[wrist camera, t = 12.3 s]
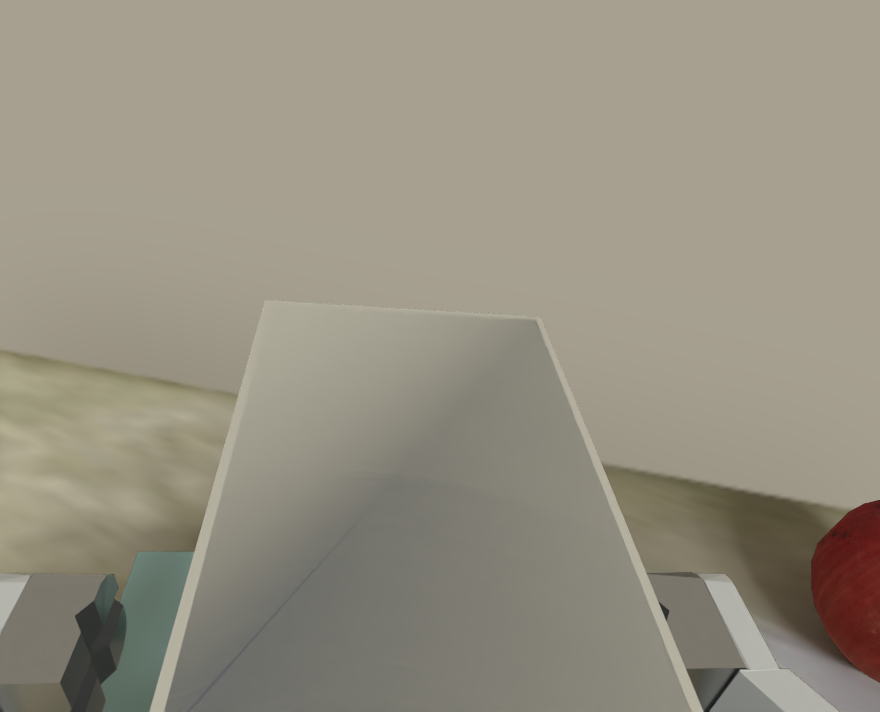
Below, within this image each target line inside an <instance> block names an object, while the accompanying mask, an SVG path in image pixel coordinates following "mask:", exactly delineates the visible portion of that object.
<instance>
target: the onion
mask: <svg viewBox="0 0 880 712" xmlns="http://www.w3.org/2000/svg"><path fill="white" fill-rule="evenodd" d="M811 588H812V593H813V598H814V604H815V607H816V609H817V612H818V614H819V616H820V619H821V621H822V623H823V626H824V628H825V630H826V632H827V633H828V635H829V636H830V638H831V639H832V640H833V642H834V643H835V644H836V646H837V647H838V648H839V649H840V651H841V652H842V653H843V654H844V656H845V657H846V658H847V659H848V660H849V661H850V662H851V663H852V664H853V665H854V666H855V667H856V668H857V669H859V670H860V671H861V672H863V673H864V674H865V675H867V676H869V677H870V678H872V679H874V680H876V681H877V682H879V683H880V500H877V501H874V502H869V503H865V504H863V505H861V506H859V507H857V508H855V509H853V510H852V511H850V512H848V513H847V514H846V515H845V516H844V517H843V518H842V519H841V520H840V521H839V522H838V523H837V524H836V525H835V526H834V527H833V528H832V529H831V530H830V531H829V532H828V533H827V534H826V535H825V536H824V537H823V538H822V539H821V541H820V542H819V543H818V544H817V547H816V550H815V553H814V556H813V558H812V561H811Z"/></svg>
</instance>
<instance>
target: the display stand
mask: <svg viewBox="0 0 880 712" xmlns="http://www.w3.org/2000/svg"><path fill="white" fill-rule="evenodd" d="M193 555H194V552H138V554H137V557H136V559H135V562H134V565H133V567H132V570H131V573H130V576H129V578H128V581H127V584H126V586H125V589H124V592H123V594H122V597H121V600H120V603H121V604H122V605H124V609H125V613H126V635H125V641H124V647H123V651H122V655H121V658H120V661H119V664H118V667H117V670H116V671H115V672H114V673H112V674H111V675H110V676H109V677H108V678H107V679H106V680H105V681H104V682H103V683H102V684H101V687H102V690H103V693H104V696H105V699H106V702H105V705H104V708H103V711H102V712H149V711H150V708H151V704H152V701H153V697H154V694H155V690H156V686H157V683H158V679H159V676H160V672H161V669H162V665H163V662H164V658H165V654H166V651H167V647H168V644H169V640H170V637H171V633H172V630H173V626H174V623H175V619H176V615H177V612H178V608H179V605H180V601H181V598H182V594H183V591H184V587H185V583H186V580H187V576H188V573H189V569H190V566H191V562H192V559H193Z"/></svg>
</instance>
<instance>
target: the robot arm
mask: <svg viewBox="0 0 880 712" xmlns="http://www.w3.org/2000/svg"><path fill="white" fill-rule="evenodd" d="M647 576H648V578H649V580H650V583H651V585H652V588H653V590H654V593H655V595H656V597H657V600H658V602H659V605H660V607H661V610H662V612H663V614H664V617H665V619H666V622H667V624H668V627H669V629H670V631H671V634H672V636H673V639H674V641H675V644H676V646H677V648H678V651H679V653H680V656H681V658H682V661H683V663H684V666H685V668H686V670H687V673H688V675H689V678H690V680H691V683H692V685H693V687H694V690H695V692H696V695H697V697H698V700H699V702H700V704H701V707H702V709H703V712H839V711H838V710H837V709H836V708H835V707H833V706H832V705H831V704H830V703H829V702H827V701H826V700H825V699H824V698H823V697H821V696H820V695H819V694H818V693H817V692H816V691H814V690H813V689H812V688H811V687H810V686H808V685H807V684H806V683H805V682H804V681H802V680H801V679H800V678H799V677H798V676H796V675H795V674H794V673H793V672H792V671H791V670H789V669H782V668H779V666H778V664H777V663H776V661H775V659H774V657H773V655H772V653H771V652H770V650H769V648H768V646H767V644H766V642H765V641H764V639H763V637H762V635H761V633H760V631H759V630H758V628H757V626H756V624H755V622H754V620H753V619H752V617H751V615H750V613H749V611H748V609H747V608H746V606H745V604H744V602H743V600H742V598H741V596H740V595H739V593H738V591H737V589H736V587H735V585H734V584H733V582H732V580H731V579H730V578H729V577H728V576H727V575H726V574H723V573H692V572H678V573H647ZM117 590H118V585H117V582H116V579H115V577H114V574H67V573H0V712H102V711H103V708H104V705H105V702H106V699H105V696H104V693H103V690H102V687H101V684H102V683H103V682H104V681H105V680H106V679H107V678H108V677H109V676H110V675H111V674H112V673H114V672H115V671H116V670H117V667H118V664H119V661H120V658H121V655H122V651H123V647H124V641H125V635H126V613H125V609H124V605H122V604H121V603H119V602H118V601H116V600H115V599H114V598H115V595H116V592H117Z"/></svg>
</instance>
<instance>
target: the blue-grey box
mask: <svg viewBox="0 0 880 712" xmlns="http://www.w3.org/2000/svg"><path fill="white" fill-rule="evenodd" d="M149 712H703V709H702V707H701V704H700V702H699V700H698V697H697V695H696V692H695V690H694V687H693V685H692V683H691V680H690V678H689V675H688V673H687V670H686V668H685V666H684V663H683V661H682V658H681V656H680V653H679V651H678V648H677V646H676V644H675V641H674V639H673V636H672V634H671V631H670V629H669V627H668V624H667V622H666V619H665V617H664V614H663V612H662V610H661V607H660V605H659V602H658V600H657V597H656V595H655V593H654V590H653V588H652V585H651V583H650V580H649V578H648V576H647V573H646V571H645V568H644V566H643V563H642V561H641V559H640V556H639V554H638V551H637V549H636V546H635V544H634V542H633V539H632V537H631V534H630V532H629V529H628V527H627V525H626V522H625V520H624V517H623V515H622V512H621V510H620V508H619V505H618V503H617V500H616V498H615V495H614V493H613V491H612V488H611V486H610V483H609V481H608V478H607V476H606V474H605V471H604V469H603V466H602V464H601V461H600V459H599V457H598V454H597V452H596V449H595V447H594V445H593V442H592V440H591V437H590V435H589V432H588V430H587V428H586V425H585V423H584V420H583V418H582V415H581V413H580V410H579V408H578V406H577V403H576V401H575V398H574V396H573V394H572V391H571V389H570V386H569V384H568V381H567V379H566V376H565V374H564V372H563V369H562V367H561V364H560V362H559V359H558V357H557V355H556V352H555V350H554V347H553V345H552V342H551V340H550V338H549V335H548V333H547V330H546V328H545V325H544V323H543V321H542V318H541V317H535V316H519V315H502V314H487V313H469V312H454V311H437V310H421V309H404V308H387V307H371V306H353V305H338V304H322V303H306V302H289V301H273V300H265V303H264V306H263V310H262V314H261V317H260V321H259V324H258V328H257V331H256V335H255V338H254V342H253V345H252V349H251V353H250V357H249V360H248V363H247V367H246V370H245V374H244V377H243V381H242V385H241V388H240V392H239V395H238V399H237V402H236V406H235V409H234V413H233V416H232V420H231V424H230V427H229V431H228V434H227V438H226V441H225V445H224V448H223V452H222V456H221V459H220V463H219V466H218V470H217V473H216V477H215V480H214V484H213V488H212V491H211V495H210V498H209V502H208V505H207V509H206V512H205V516H204V519H203V523H202V527H201V530H200V534H199V537H198V541H197V544H196V548H195V551H194V555H193V559H192V562H191V566H190V569H189V573H188V576H187V580H186V583H185V587H184V591H183V594H182V598H181V601H180V605H179V608H178V612H177V615H176V619H175V623H174V626H173V630H172V633H171V637H170V640H169V644H168V647H167V651H166V654H165V658H164V662H163V665H162V669H161V672H160V676H159V679H158V683H157V686H156V690H155V694H154V697H153V701H152V704H151V708H150V711H149Z"/></svg>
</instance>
